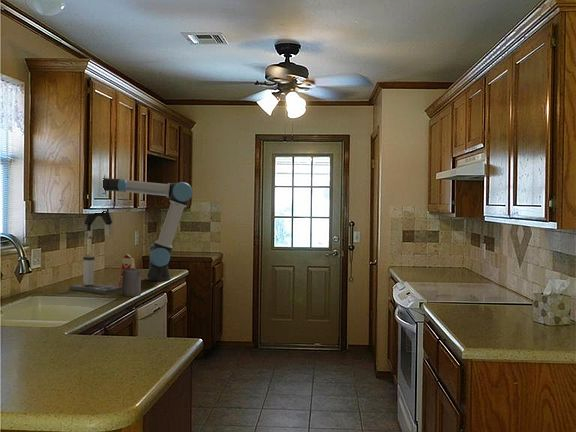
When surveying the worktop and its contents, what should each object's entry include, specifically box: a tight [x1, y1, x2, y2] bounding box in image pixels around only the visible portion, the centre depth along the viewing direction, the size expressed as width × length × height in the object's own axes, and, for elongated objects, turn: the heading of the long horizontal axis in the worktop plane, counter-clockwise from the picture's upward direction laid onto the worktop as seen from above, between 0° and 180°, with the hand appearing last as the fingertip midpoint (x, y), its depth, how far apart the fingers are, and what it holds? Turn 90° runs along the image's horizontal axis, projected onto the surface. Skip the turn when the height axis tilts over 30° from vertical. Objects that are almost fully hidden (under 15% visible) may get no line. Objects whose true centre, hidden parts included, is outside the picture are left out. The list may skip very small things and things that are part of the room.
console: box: [69, 282, 122, 295], centre depth 318 cm, size 26×14×2 cm, turn 64°
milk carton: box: [117, 252, 136, 287], centre depth 334 cm, size 9×9×20 cm
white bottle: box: [82, 256, 96, 285], centre depth 320 cm, size 4×4×16 cm
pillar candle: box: [121, 268, 142, 297], centre depth 307 cm, size 10×10×15 cm
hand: (98, 235), depth 340 cm, fingers open, 13 cm apart
